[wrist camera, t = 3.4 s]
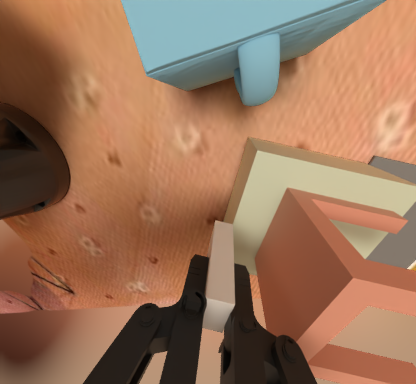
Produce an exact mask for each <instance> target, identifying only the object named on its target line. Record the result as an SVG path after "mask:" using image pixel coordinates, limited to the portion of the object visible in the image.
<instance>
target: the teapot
mask: <svg viewBox="0 0 416 384" xmlns="http://www.w3.org/2000/svg"><path fill="white" fill-rule="evenodd" d="M385 1H386V0H121V2H122V5H123V8H124V11H125V14H126V17H127V20H128V22H129V25H130V28H131V31H132V34H133V37H134V40H135V43H136V46H137V49H138V52H139V55H140V58H141V61H142V64H143V67H144V70H145V73H146V76H148V77H151V78H153V79H156V80H159V81H161V82H164V83H167V84H169V85H172V86H175V87H177V88H180V89H183V90H185V91H190V90H194V89H197V88H200V87H203V86H206V85H210V84H213V83H216V82H219V81H222V80H226V79H229V78H232V77H234V80H235V85H236V89H237V91H238V93H239V95H240V98H241V101H242V103H243V104H244V105H246V106H257V105H261V104H263V103H265V102H267V101H269V100H270V99H271V98H272V97H273V96H274V94H275V92H276V90H277V86H278V79H279V68H280V62H284V61H287V60H290V59H293V58H296V57H300V56H303V55H306V54H307V53H309V52H310V51H312V50H313V49H315V48H316V47H318V46H319V45H321V44H322V43H324V42H325V41H327V40H328V39H330V38H331V37H333V36H334V35H336V34H337V33H339V32H340V31H342V30H343V29H345V28H346V27H347V26H349V25H350V24H352V23H353V22H355V21H356V20H358V19H359V18H361V17H362V16H364V15H365V14H367V13H368V12H370V11H371V10H373V9H374V8H376V7H377V6H379V5H380V4H382V3H383V2H385Z"/></svg>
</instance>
